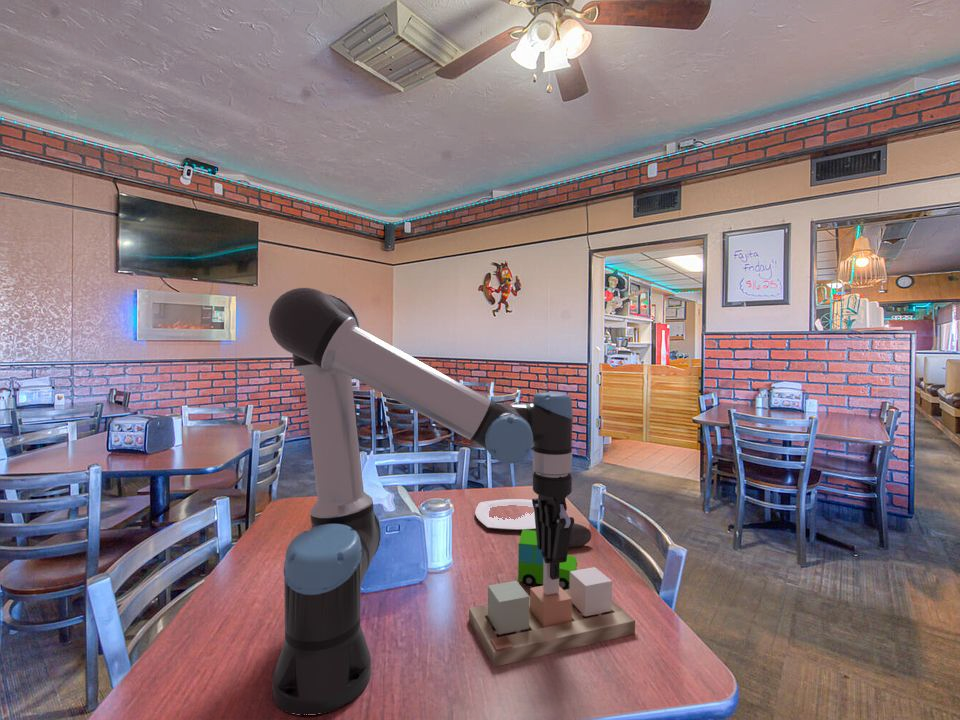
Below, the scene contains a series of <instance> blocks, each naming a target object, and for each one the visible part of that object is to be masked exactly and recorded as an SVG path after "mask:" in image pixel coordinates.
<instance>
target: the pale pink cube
mask: <svg viewBox="0 0 960 720" xmlns="http://www.w3.org/2000/svg"><path fill="white" fill-rule="evenodd" d="M569 589H570V593H569V596H570V597H571V598H572V603H573V604H574V605H575V606H576V607H577V608H578V609H577V610H578V612H580V613H581V614H582V615H583V616H584V617H589V616H590V617H591V616H593V615H598V614H603V613H604V612H609V611H612V601H613V595H612V594H613V580H612V579H610V578H609V577H608V576H606V575H605V574H604V573H603V572H602V571H600V570H599V569H598V568H596V567H595V566H593V567H588V568H581V569H577V570H575V571H570V587H569Z"/></svg>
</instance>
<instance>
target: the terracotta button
mask: <svg viewBox="0 0 960 720" xmlns="http://www.w3.org/2000/svg"><path fill="white" fill-rule="evenodd" d="M529 596H530V613H531V614H532V615H533V616H534V618H535V619H536V620H537V622H538V623H539V624H540V625H541V627H542V628H545V627H549V626H554V625H559V624H563V623H568V622H572V598H571V597H570V596H569V595H568V594H567V593H566V592H565V591H564V590H563V589H562V588H561V587H560V586H559V593H555V594H550V595H546V594H545V593H544V592H543V585H540V586H533V587H529Z"/></svg>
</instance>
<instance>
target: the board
mask: <svg viewBox="0 0 960 720" xmlns="http://www.w3.org/2000/svg"><path fill="white" fill-rule="evenodd" d="M564 591H565V592H566V593H567V594H568V595H569V593H570V588H568V589H566V590H564ZM578 610H579V609H578V608H577V607H576V606H575V605H574V604H573V603H572V622H568V623H563V624H559V625H554V626H549V627H545V628H542V627H541V625H540V624H539V623H538V622H537V620H536V619H535V618H534V616H533V615H532V614H531V613H530V597H529V629H524V630H522V631H523V632H522V631H521V632H517V633H513V634H509V635H508V634H507V635H502V636H501V635H500V636H498V637H497V635H496V633H495V632H494V630H493V628H495V627H494V626H493V624H492V623H491V621H490V619H489V618H488V603H487V604H481V605H477V606H471V607H468V621H469V623H470V625H471V626H472V628H473V631H474V632H475V634H476V636H477V638H478V640H479V642H480V644H481V646H482V648H483V649H484V651H485V653H486V655H487V657H488V658H489V661H490V662H491V665H492V667H495V668H496V667H499V666H502V665H508V664H511V663H515V662H516V663H517V662H519V661H526V660H529V659H533V658H537V657H542V656H546V655H550V654H554V653H558V652H563V651H566V650H570V649H576V648H578V647H579V648H580V647H583V646H587V645H588V646H589V645H592V644H596V643H600V642H605V641H609V640H612V639H618V638H621V637H627V636H630V635H634V634H636V619H634V618H633V617H632V616H630V614H629V613H627V612H626V611H625V610H624V608H623V609H622V607H620V606H619V605H618V604H617V602H614V601H613V600H612V611H609V612H604V613H602V614H601V615H598V616H592V617H591V616H590V617H587V618H584V617H583V616H582V615H581V614H580V613H579V611H578Z"/></svg>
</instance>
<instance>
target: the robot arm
mask: <svg viewBox="0 0 960 720" xmlns="http://www.w3.org/2000/svg"><path fill="white" fill-rule="evenodd" d="M268 327H269V331H270V333H271V335H272V337H273V340H274V341H275V342H276V343H277V344H278V346H280V348H282V349H283V350H285V351H287V352H288V353H290V354H292V362H293V364H292V365H293V369H295V370H296V371H297V372H298V373H299V374H301V375H302V377H303V382H304V391H305V401H306V410H307V417H308V426H309V435H310V446H311V455H312V461H313V463H312V465H313V472H314V480H315V489H316V499H317V500H316V502H315V504H314V505H313V506H312V508H311V509H310V510H309V514H310V524H311V527H310V529H309V530H304V531H302V532H301V533H299V534H298V535H297V536H295V537H294V538H293V539H292V540H291V541H290V543H289V544H288V546H287V548H286V551H285V559H284V562H283V563H284V564H283V565H284V566H283V569H282V571H283V577H284V642H283V644H282V647H281V650H280V653H279V657H278V659H277V662H276V666H275V668H274V672H273V674H272V698H274V699H273V701H274V703H275V704H277V705H278V706H279V707H280V708H281V709H280V708H279V707H278V706H277V705H276V706H277V707H278V708H279V709H280V710H282V711H283V710H284V711H283V712H285V711H287V712H289V713H288V714H290V713H295V714H300V715H304V714H305V715H306V714H307V715H308V714H318V713H325V712H328V713H330V712H329V711H331V712H333V711H332V710H334V711H336V710H335V709H337V708H339V709H340V707H341V708H342V706H343V707H344V705H345V704H346V705H348V704H350V703H351V702H353V701H354V700H355V699H356V698H358V697H359V695H361V693H363V691H364V690H365V689H366V687H367V685H368V683H369V682H370V679H371V676H372V675H371V674H372V656H371V652H370V649H369V645H368V643H367V641H366V638H365V635H364V632H363V629H362V626H361V601H362V600H361V597H362V596H361V591H362V590H361V589H362V582H363V580H364V578H365V576H366V574H367V572H368V569H369V567H370V565H371V563H372V561H373V558H375V555H376V553H377V552H378V550H379V547H380V542H381V539H382V526H381V522H380V519H379V516H378V515H377V513H376V511H374V510H375V509H374V502H373V501H374V500H373V498H372V496H370V495H369V494H368V493H366V492H365V491H364V483H363V482H364V481H363V474H362V464H361V455H360V446H359V445H360V443H359V437H358V428H357V419H356V410H355V409H356V408H355V407H356V406H355V402H354V399H355V398H354V390H353V389H354V388H353V382H352V381H353V380H352V379H353V378H354V379H355V380H357V381H359V382H360V383H363V384H365V385H366V386H368V387H370V388H372V389H373V390H375V391H377V392H379V393H381V394H383V395H385V396H387V397H389V398H390V399H393V400H394V401H397V402H398V403H400V404H402V405H403V406H406V407H407V408H410V409H411V410H413V411H415V412H417V413H419V414H420V415H423V416H424V417H426V418H427V419H430V420H432V421H434V422H436V423H437V424H439V425H441V426H443V427H445V429H446V428H447V429H449V430H450V431H452V432H454V433H456V434H458V435H460V436H462V437H463V438H466V440H467V439H468V440H469V441H470V442H472V443H474V444H475V445H477V446H479V447H481V448H483V449H485V450H486V451H487V452H488V454H490V456H492V457H493V458H494V459H495V460H496V461H498V462H499V463H503V464H507V465H509V464H510V465H511V464H517V463H519V462H521V461H523V460H524V459H525V458H527V456H529V454H530V452H532V470H533V473H532V491H533V492H534V493H535V494H536V495H537V498H532V499H531V500H532V504H533V508H534V514H535V525H536V529H535V531H536V536H537V547H538V550H541V554H542V556H543V557H544V559H543V584H542V586H543V592H544V593H545V594H546V595H550V594H555V593H559V564H560V563H562V562H566V561H567V555H569V553H568V552H569V548H568V547H569V541H570V534H571V528H572V526H573V524H574V523H575V519H574V517H573V516H570V517H569V515H568V513H567V509H568V507H567V500H566V498H567V497H568V496H569V495H571V494H572V491H573V490H572V488H573V487H572V486H573V485H572V484H573V477H572V474H571V472H572V470H573V467H572V465H573V463H572V461H573V460H572V459H573V454H572V452H573V422H574V421H573V420H574V415H573V400H572V397H571V396H570V395H569V394H568V393H564V392H553V391H552V392H550V391H549V392H548V391H547V392H536V393H535V394H534V395H533V399H532V402H527V403H511V402H510V403H506V402H505V403H502V402H500V403H499V402H495V401H493V400H491V399H490V398H488V397H486V396H484V395H483V394H481V393H479V392H477V391H475V390H473V389H471V388H470V387H468V386H466V385H464V384H462V383H461V382H458V381H457V380H455V379H453V378H451V377H450V376H448V375H446V374H444V373H442V372H440V371H439V370H437V369H435V368H433V367H432V366H430V365H427V364H426V363H424V362H422V361H420V360H418V359H417V358H415V357H413V356H411V355H410V354H408V353H406V352H404V351H402V350H400V349H399V348H397V347H395V346H393V345H391V344H389V343H387V342H386V341H384V340H382V339H380V338H379V337H377V336H375V335H373V334H372V333H369V332H368V331H366V330H364V329H362V328H360V322H359V318H358V317H357V314H356V313H355V311H354V310H353V308H352V307H351V306H350V305H349V304H348V303H347V302H345V301H344V300H343V299H342V298H340V297H337V296H335V295H332V294H327V293H325V292H323V291H320V289H315V288H310V287H298V288H293V289H291V290H288V291H286V292H285V293H283V294H281V295H280V296H278V298H277V299H276V300H275V301H274V303H273V304H272V306H271V309H270V312H269V316H268ZM349 702H350V703H349ZM347 703H348V704H347ZM346 705H345V706H346ZM337 710H338V709H337ZM287 712H286V713H287ZM325 714H326V713H325Z"/></svg>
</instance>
